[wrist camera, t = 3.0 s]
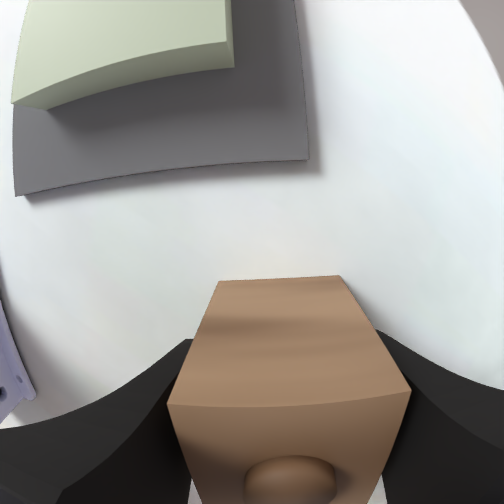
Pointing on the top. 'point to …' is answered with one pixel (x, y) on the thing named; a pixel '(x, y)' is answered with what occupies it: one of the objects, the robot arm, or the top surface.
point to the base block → (115, 45)
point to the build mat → (177, 114)
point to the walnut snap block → (287, 396)
